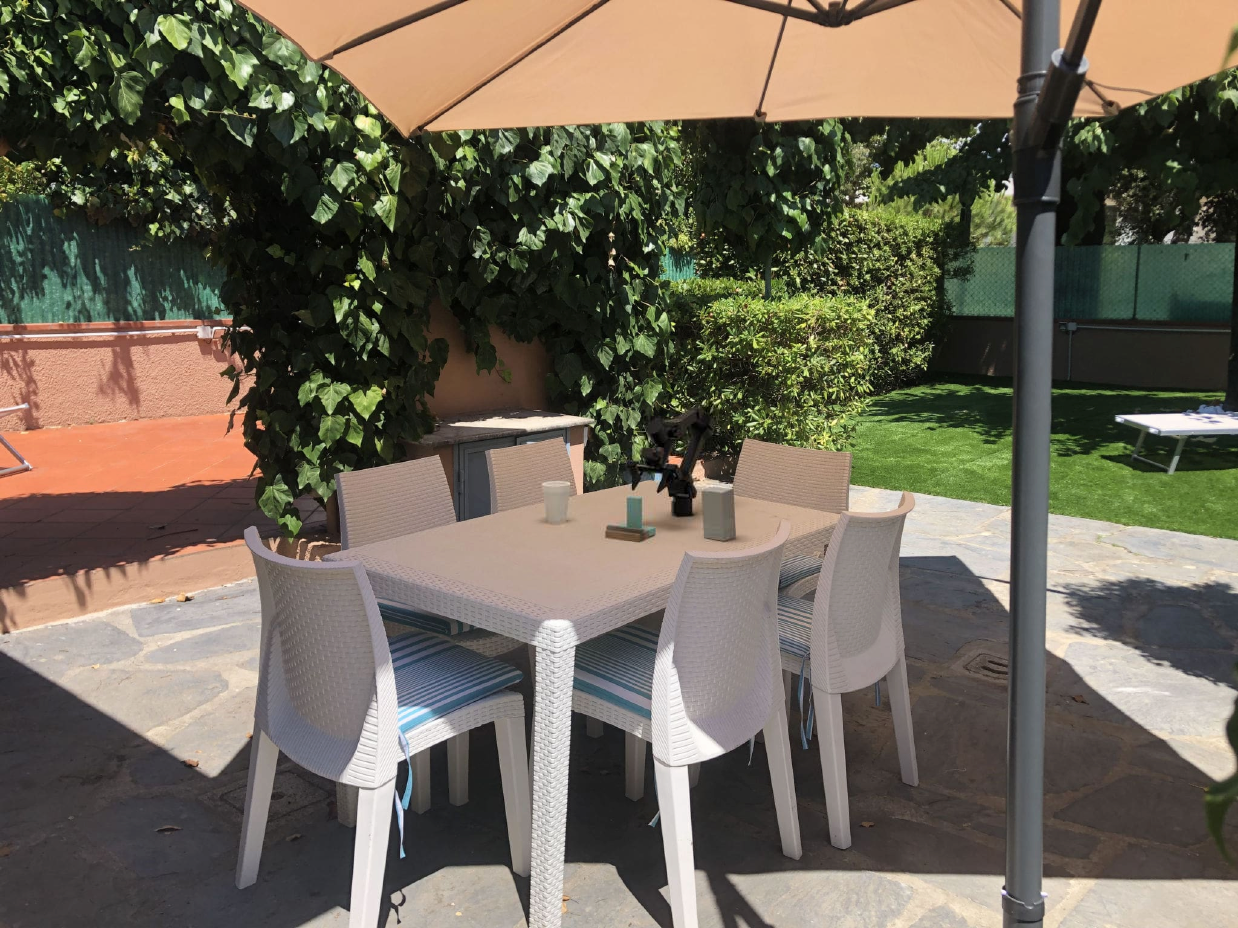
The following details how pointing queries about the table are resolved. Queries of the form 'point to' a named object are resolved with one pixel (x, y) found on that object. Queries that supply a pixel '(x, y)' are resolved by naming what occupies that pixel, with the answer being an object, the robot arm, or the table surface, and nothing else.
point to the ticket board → (626, 533)
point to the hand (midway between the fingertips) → (644, 491)
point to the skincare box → (718, 513)
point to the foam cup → (556, 500)
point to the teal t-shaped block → (636, 515)
